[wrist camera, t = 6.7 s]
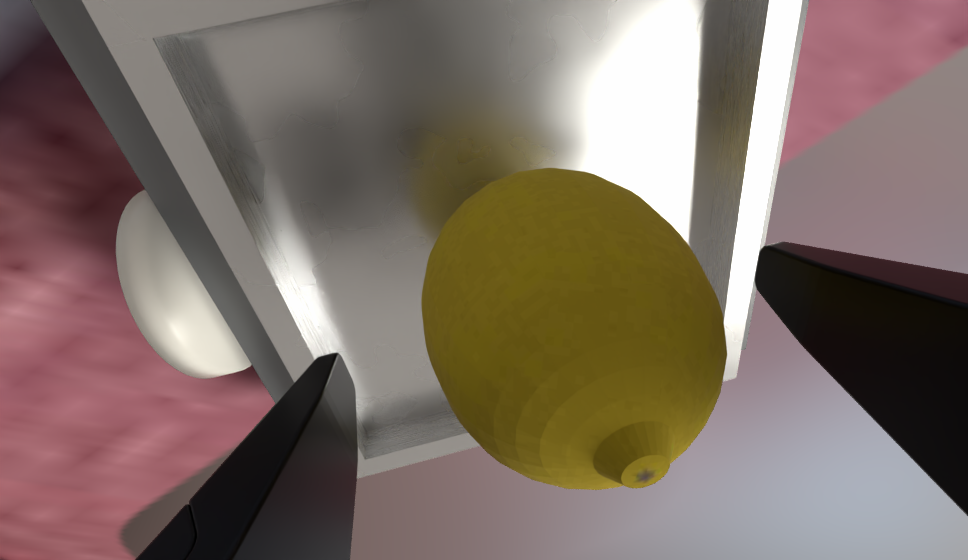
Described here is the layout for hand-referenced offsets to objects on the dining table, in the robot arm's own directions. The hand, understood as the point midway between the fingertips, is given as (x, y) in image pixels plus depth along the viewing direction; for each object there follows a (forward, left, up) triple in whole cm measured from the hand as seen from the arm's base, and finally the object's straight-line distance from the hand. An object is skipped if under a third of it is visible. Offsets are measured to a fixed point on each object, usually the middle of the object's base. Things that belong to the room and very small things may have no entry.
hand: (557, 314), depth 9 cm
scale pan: (0, 0, -5) cm, 5 cm away
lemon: (0, 0, -4) cm, 4 cm away
